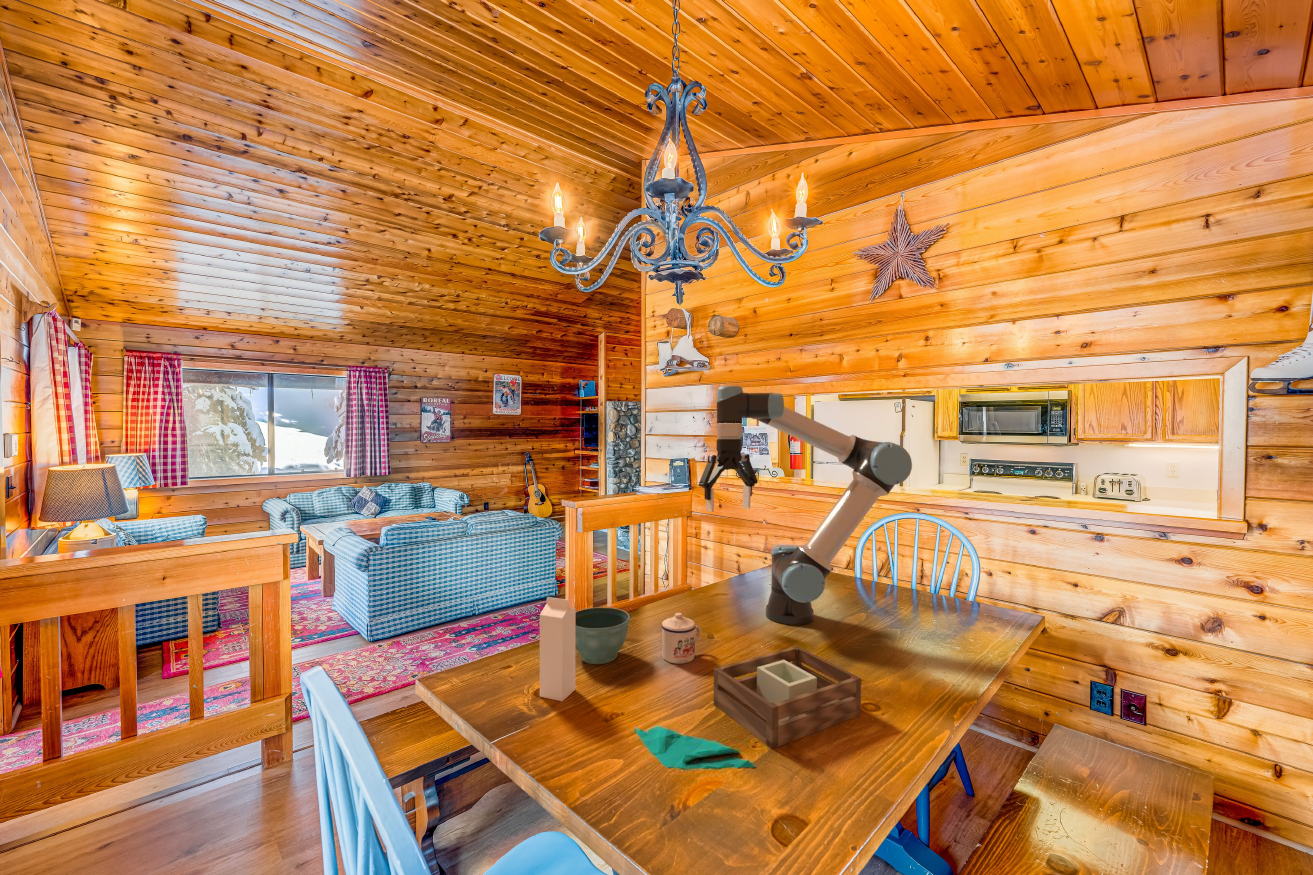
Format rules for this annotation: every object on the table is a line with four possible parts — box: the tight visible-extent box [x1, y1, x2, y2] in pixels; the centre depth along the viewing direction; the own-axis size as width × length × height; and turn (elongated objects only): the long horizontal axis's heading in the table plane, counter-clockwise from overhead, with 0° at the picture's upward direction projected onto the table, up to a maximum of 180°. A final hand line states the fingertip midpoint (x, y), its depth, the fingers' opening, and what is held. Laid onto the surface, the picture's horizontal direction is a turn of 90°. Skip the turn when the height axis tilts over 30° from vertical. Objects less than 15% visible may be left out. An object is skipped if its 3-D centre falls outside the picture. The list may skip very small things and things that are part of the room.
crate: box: [713, 645, 862, 750], centre depth 118 cm, size 25×19×8 cm
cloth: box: [633, 725, 757, 770], centre depth 103 cm, size 26×14×2 cm, turn 50°
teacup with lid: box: [661, 612, 702, 665], centre depth 145 cm, size 12×9×12 cm
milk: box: [539, 596, 576, 702], centre depth 124 cm, size 6×6×22 cm
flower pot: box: [575, 606, 630, 665], centre depth 144 cm, size 16×16×11 cm
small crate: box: [756, 660, 817, 719], centre depth 118 cm, size 8×10×7 cm
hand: (728, 509), depth 161 cm, fingers open, 13 cm apart
